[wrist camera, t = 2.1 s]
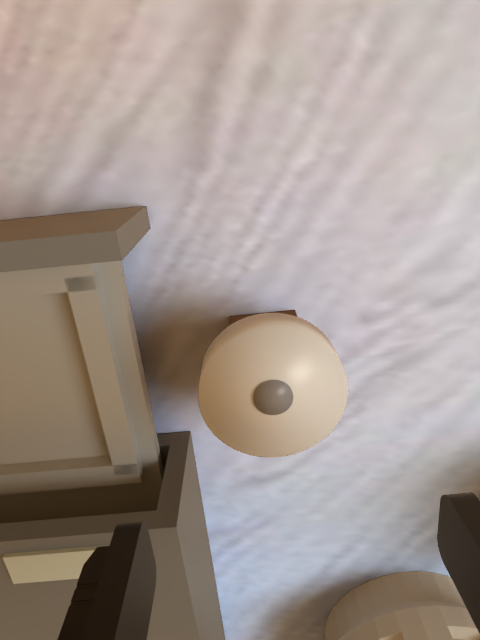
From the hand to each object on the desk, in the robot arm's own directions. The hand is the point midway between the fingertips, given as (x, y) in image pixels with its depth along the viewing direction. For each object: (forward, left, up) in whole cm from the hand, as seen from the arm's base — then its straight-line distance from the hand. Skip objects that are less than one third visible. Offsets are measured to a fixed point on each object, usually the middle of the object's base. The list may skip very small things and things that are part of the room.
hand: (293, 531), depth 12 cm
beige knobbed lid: (0, 0, -8) cm, 8 cm away
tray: (+1, -12, -11) cm, 17 cm away
